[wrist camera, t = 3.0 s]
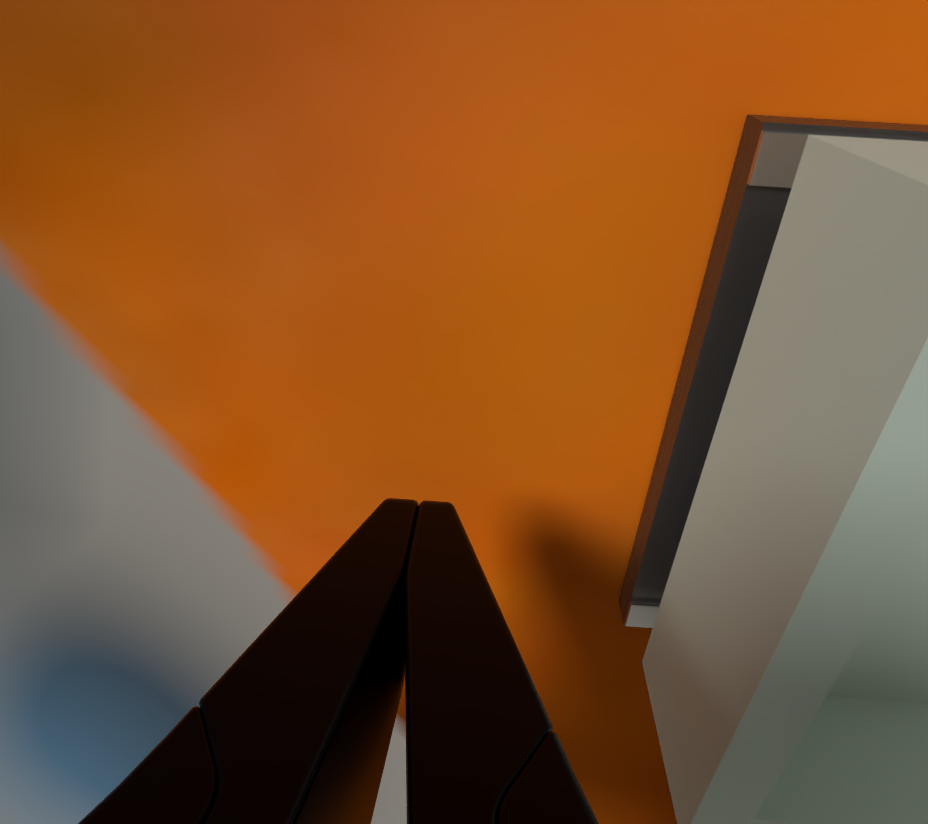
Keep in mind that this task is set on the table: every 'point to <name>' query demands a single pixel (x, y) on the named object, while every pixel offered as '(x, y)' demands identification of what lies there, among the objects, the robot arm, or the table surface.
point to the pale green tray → (812, 524)
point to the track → (723, 334)
